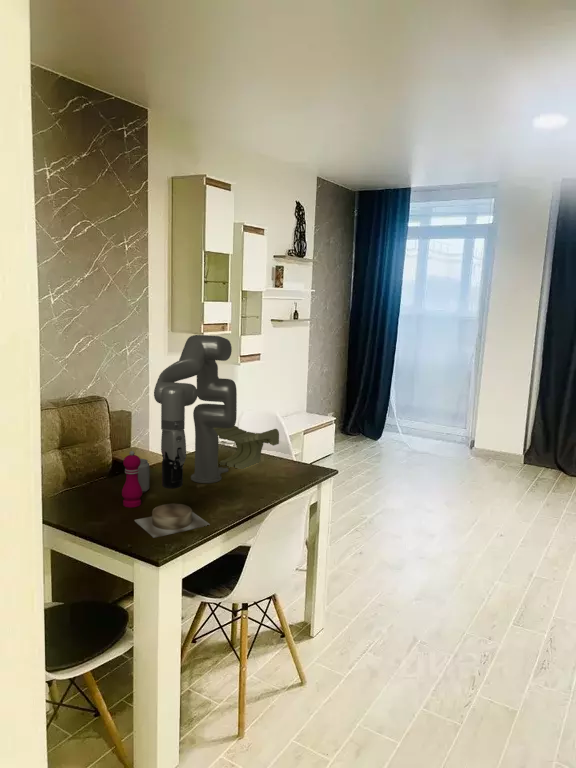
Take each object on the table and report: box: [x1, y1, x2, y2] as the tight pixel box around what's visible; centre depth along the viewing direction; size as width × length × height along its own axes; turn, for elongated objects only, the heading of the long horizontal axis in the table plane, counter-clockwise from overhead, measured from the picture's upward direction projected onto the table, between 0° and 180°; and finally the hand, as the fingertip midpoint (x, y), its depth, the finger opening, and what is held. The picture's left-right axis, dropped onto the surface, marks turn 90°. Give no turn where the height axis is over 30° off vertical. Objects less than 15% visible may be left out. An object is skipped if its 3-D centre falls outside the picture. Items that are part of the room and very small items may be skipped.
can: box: [138, 458, 150, 494], centre depth 231 cm, size 8×8×12 cm
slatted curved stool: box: [214, 425, 280, 470], centre depth 271 cm, size 30×16×18 cm, turn 57°
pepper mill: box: [121, 450, 143, 508], centre depth 215 cm, size 7×7×20 cm
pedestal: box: [134, 503, 211, 539], centre depth 201 cm, size 20×16×5 cm
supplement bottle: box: [161, 452, 184, 490], centre depth 198 cm, size 7×7×12 cm
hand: (172, 476), depth 199 cm, fingers closed on supplement bottle, 6 cm apart
